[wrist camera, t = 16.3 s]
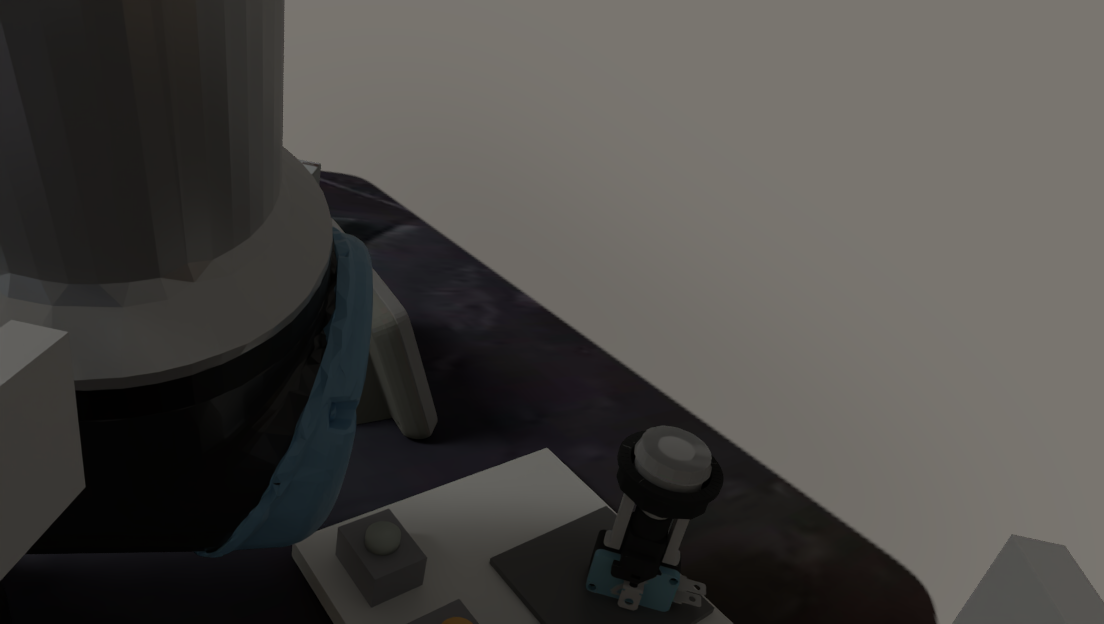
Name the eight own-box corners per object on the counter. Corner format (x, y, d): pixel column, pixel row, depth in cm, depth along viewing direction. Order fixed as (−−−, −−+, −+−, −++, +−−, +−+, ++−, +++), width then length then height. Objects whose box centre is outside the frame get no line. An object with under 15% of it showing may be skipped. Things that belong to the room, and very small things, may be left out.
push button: (698, 574, 45) (753, 438, 41) (697, 649, 41) (759, 505, 36) (587, 543, 46) (629, 404, 41) (573, 613, 41) (618, 466, 36)
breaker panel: (291, 555, 43) (294, 503, 41) (543, 461, 54) (554, 417, 52) (538, 953, 29) (559, 901, 27) (806, 714, 40) (833, 666, 39)
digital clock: (440, 451, 53) (463, 316, 48) (301, 462, 49) (310, 317, 44) (395, 327, 66) (410, 210, 61) (282, 328, 62) (288, 204, 57)
